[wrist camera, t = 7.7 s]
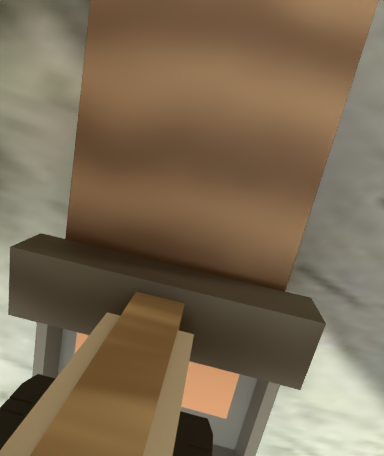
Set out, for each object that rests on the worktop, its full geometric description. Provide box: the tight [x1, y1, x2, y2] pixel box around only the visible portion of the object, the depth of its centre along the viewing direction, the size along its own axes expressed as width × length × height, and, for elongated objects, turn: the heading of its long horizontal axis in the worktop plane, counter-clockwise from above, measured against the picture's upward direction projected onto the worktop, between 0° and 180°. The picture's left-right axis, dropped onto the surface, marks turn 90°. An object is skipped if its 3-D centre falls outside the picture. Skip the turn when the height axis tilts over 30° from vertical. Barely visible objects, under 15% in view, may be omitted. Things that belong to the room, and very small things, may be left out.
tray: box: [32, 322, 280, 456], centre depth 23 cm, size 14×18×3 cm
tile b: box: [181, 361, 240, 419], centre depth 22 cm, size 5×5×2 cm
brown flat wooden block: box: [65, 0, 379, 292], centre depth 18 cm, size 20×14×4 cm
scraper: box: [8, 234, 326, 456], centre depth 10 cm, size 4×16×14 cm, turn 78°
